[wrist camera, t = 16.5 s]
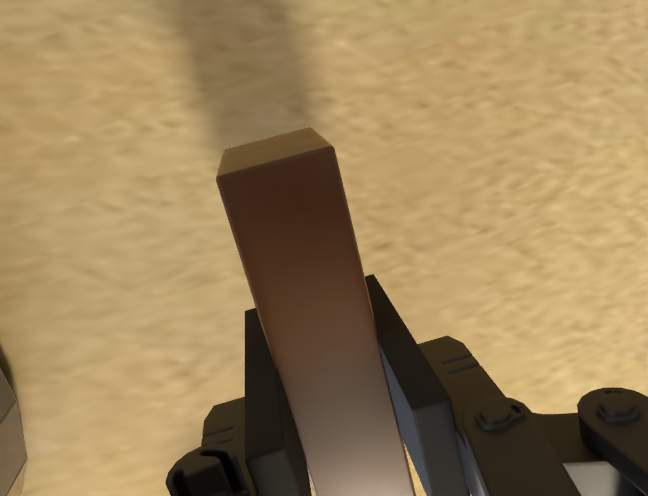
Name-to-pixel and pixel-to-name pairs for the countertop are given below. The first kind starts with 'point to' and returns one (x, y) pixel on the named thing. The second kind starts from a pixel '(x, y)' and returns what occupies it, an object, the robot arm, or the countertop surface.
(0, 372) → the bowl
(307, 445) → the stick
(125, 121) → the countertop surface
